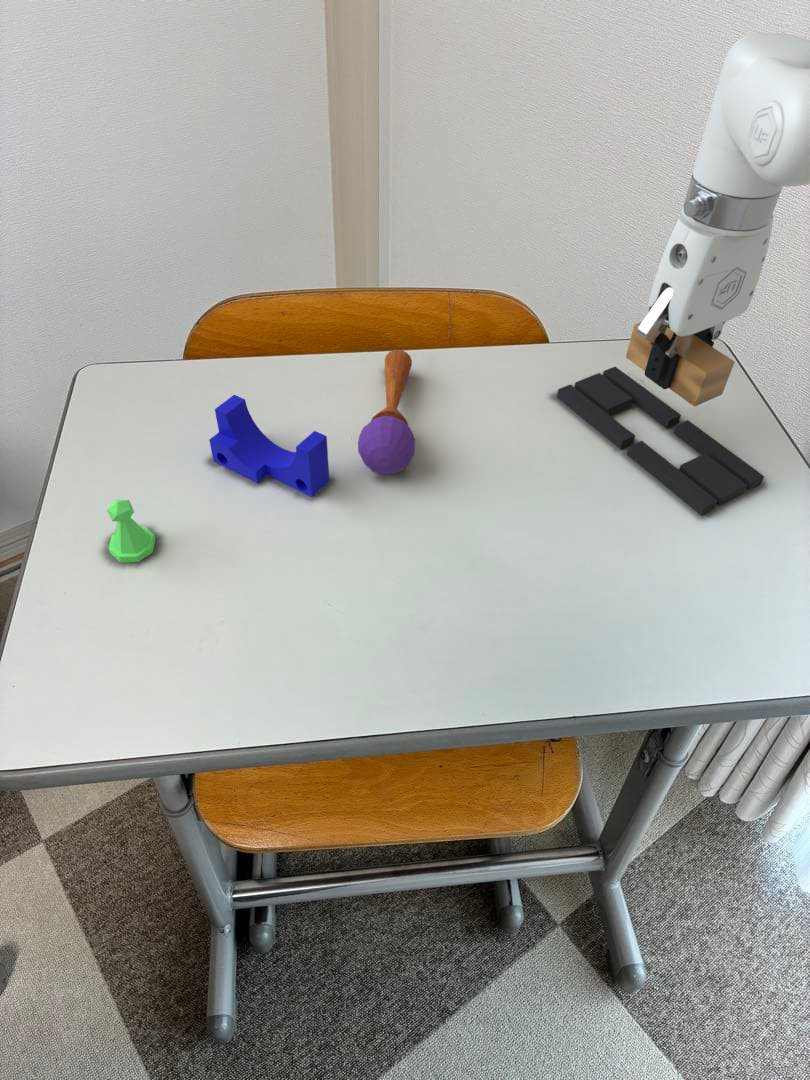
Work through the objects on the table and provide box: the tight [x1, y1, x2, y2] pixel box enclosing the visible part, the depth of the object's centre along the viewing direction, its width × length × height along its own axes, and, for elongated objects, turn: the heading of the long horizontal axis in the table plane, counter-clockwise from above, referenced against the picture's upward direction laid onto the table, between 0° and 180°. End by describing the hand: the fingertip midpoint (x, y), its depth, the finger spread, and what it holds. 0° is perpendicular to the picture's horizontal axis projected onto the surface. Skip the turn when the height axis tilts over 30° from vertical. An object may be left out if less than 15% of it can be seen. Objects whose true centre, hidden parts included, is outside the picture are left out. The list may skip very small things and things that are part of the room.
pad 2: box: [626, 419, 765, 516], centre depth 85 cm, size 11×9×1 cm
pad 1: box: [556, 366, 682, 450], centre depth 92 cm, size 11×9×1 cm
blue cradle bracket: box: [208, 394, 330, 498], centre depth 82 cm, size 12×4×6 cm, turn 58°
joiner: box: [625, 321, 735, 408], centre depth 82 cm, size 10×4×4 cm, turn 33°
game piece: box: [106, 499, 157, 563], centre depth 74 cm, size 4×4×6 cm
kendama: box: [357, 349, 416, 475], centre depth 88 cm, size 6×6×20 cm
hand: (673, 373), depth 83 cm, fingers closed on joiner, 4 cm apart
